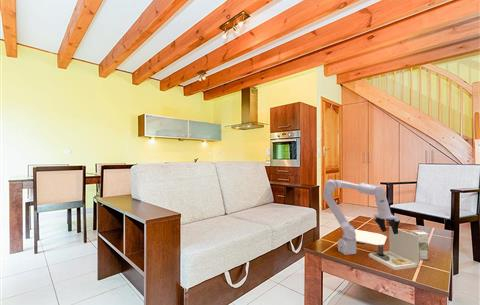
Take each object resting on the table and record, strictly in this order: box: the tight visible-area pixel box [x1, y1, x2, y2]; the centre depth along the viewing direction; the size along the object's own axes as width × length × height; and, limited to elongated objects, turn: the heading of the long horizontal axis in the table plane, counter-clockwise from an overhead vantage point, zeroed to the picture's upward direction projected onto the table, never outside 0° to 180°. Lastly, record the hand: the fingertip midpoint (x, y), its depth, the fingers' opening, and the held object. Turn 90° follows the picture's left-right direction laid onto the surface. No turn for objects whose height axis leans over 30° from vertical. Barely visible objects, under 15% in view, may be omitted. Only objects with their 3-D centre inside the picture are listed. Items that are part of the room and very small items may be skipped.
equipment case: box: [368, 226, 420, 271], centre depth 120 cm, size 15×16×16 cm
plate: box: [354, 228, 388, 246], centre depth 157 cm, size 25×25×2 cm
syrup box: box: [410, 230, 429, 261], centre depth 127 cm, size 6×6×14 cm
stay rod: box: [377, 245, 384, 257], centre depth 123 cm, size 2×2×7 cm
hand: (389, 232), depth 125 cm, fingers open, 7 cm apart
